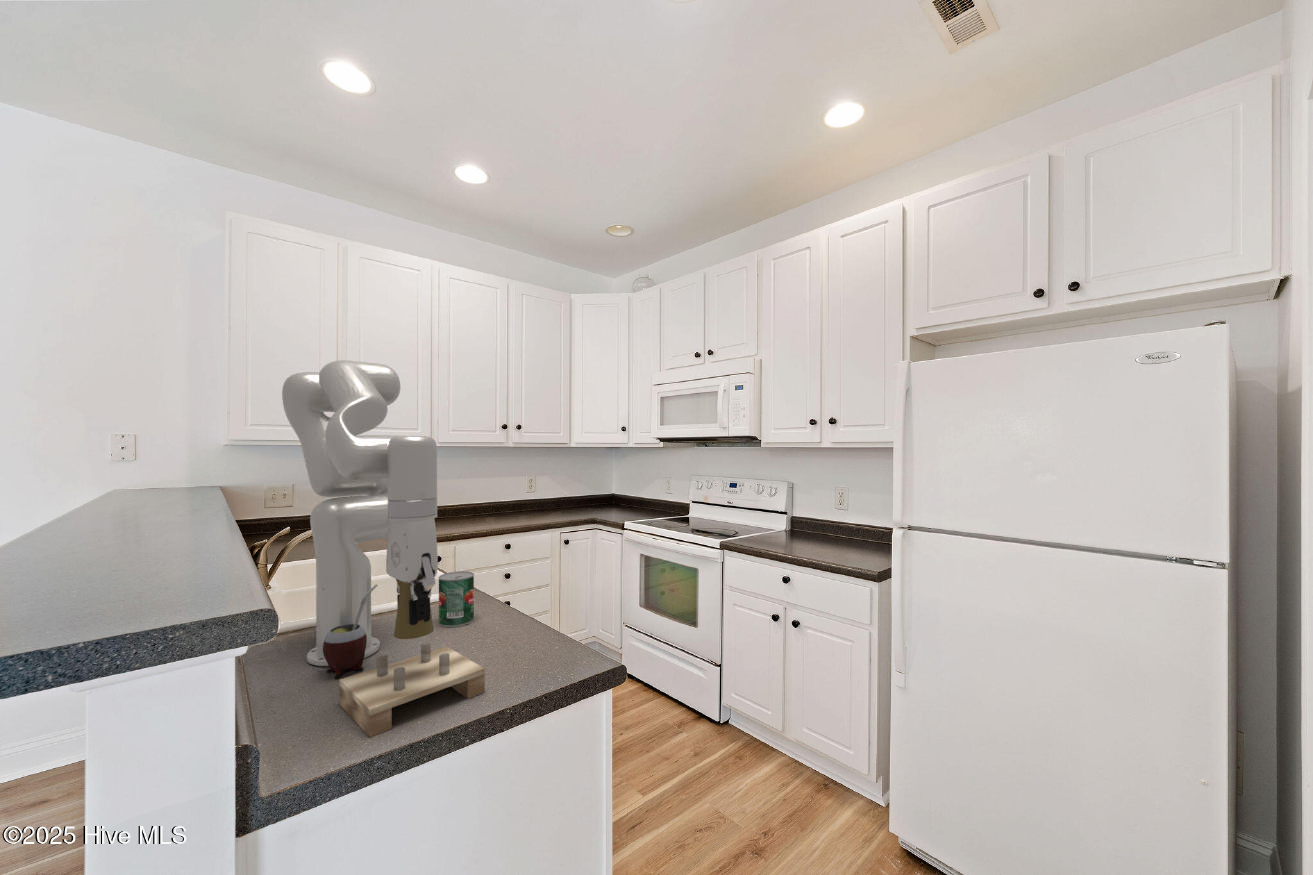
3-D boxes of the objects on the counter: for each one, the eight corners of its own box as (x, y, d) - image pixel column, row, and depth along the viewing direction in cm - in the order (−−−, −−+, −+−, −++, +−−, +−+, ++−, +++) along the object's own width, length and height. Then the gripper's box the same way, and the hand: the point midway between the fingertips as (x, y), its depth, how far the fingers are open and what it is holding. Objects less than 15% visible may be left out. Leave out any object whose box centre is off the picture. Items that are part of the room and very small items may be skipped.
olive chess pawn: (439, 625, 89) (439, 561, 89) (425, 638, 83) (424, 570, 83) (404, 626, 89) (403, 562, 89) (386, 639, 83) (386, 571, 83)
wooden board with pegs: (339, 703, 84) (339, 661, 84) (447, 667, 97) (447, 630, 97) (369, 737, 74) (369, 688, 74) (484, 692, 88) (484, 650, 88)
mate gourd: (314, 680, 92) (314, 597, 92) (338, 662, 100) (338, 584, 100) (357, 679, 93) (357, 596, 93) (378, 660, 101) (378, 584, 101)
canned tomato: (433, 621, 123) (433, 575, 123) (466, 613, 128) (466, 569, 128) (445, 630, 117) (445, 581, 117) (479, 621, 122) (479, 575, 122)
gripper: (370, 508, 89) (371, 614, 89) (410, 516, 78) (411, 638, 77) (415, 504, 94) (416, 604, 94) (458, 511, 83) (459, 625, 83)
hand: (413, 618), depth 86 cm, fingers closed on olive chess pawn, 4 cm apart
